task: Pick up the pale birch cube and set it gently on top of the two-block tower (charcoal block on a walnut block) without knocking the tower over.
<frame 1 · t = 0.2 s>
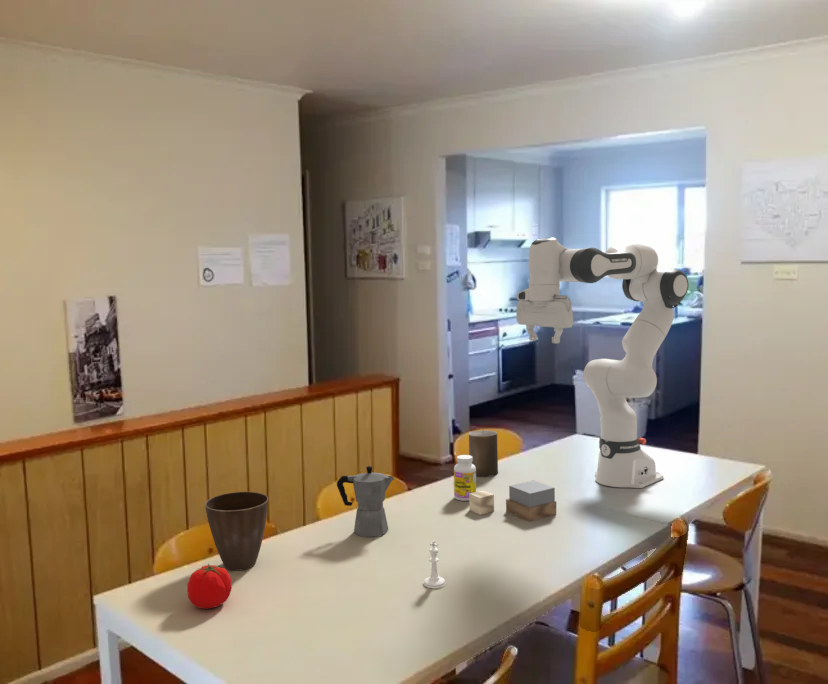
hand: (544, 341, 225), 48 cm above the table, fingers open, 8 cm apart
pillar candle: (483, 473, 261), on the table
birch block: (481, 510, 223), on the table
coffeepot: (367, 532, 208), on the table
tower top: (531, 500, 219), point 4 cm above the table, touching tower base
tomato: (210, 605, 167), on the table
chess piece: (434, 584, 174), on the table
supplement bottle: (465, 498, 235), on the table
tower base: (531, 514, 220), on the table, touching tower top
plant pot: (240, 565, 188), on the table
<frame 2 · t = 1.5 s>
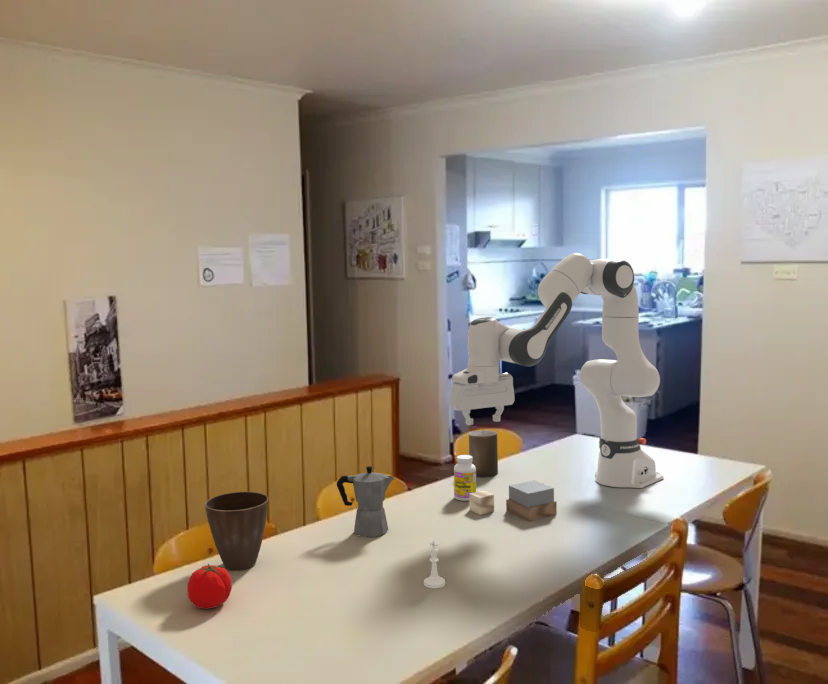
hand: (483, 423, 220), 26 cm above the table, fingers open, 8 cm apart
nothing on the table moved.
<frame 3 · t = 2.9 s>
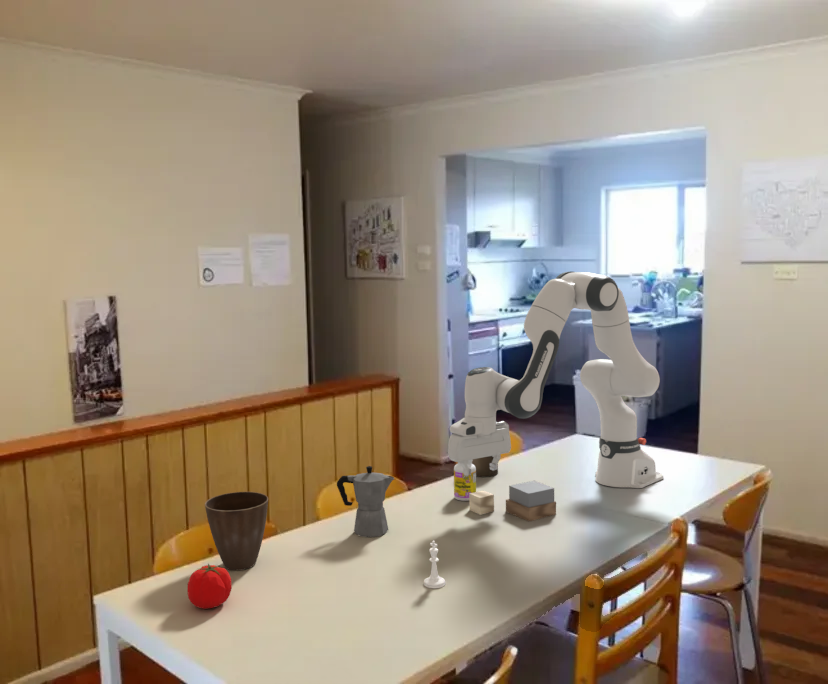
hand: (480, 472, 221), 11 cm above the table, fingers open, 8 cm apart
tower top: (531, 500, 220), point 4 cm above the table
tower base: (530, 514, 220), on the table
everything else where it was.
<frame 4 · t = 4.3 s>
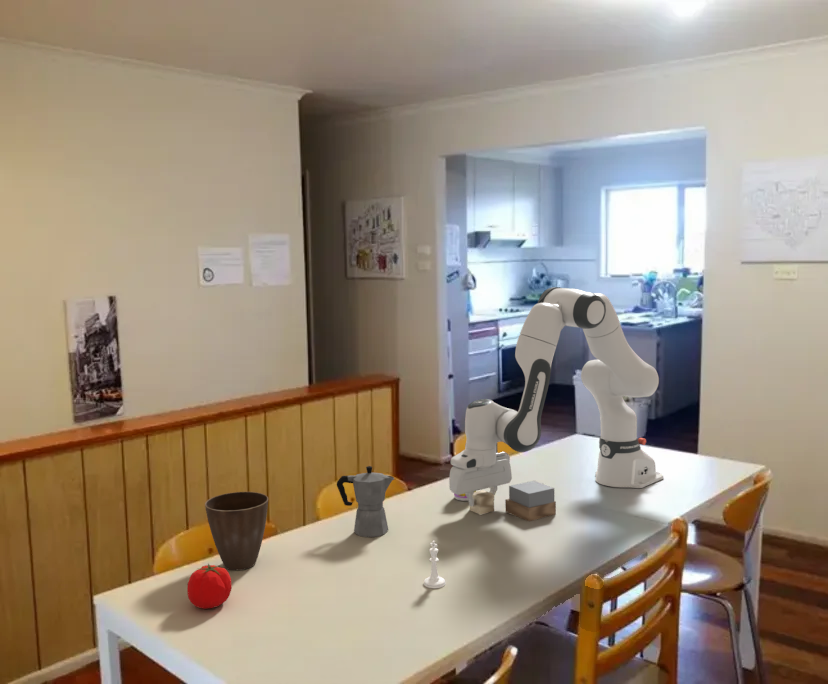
hand: (481, 503, 223), 2 cm above the table, fingers closed on birch block, 5 cm apart
birch block: (481, 510, 223), on the table, touching gripper
tower top: (531, 500, 219), point 4 cm above the table, touching tower base
tower base: (530, 514, 220), on the table, touching tower top
everything else where it was.
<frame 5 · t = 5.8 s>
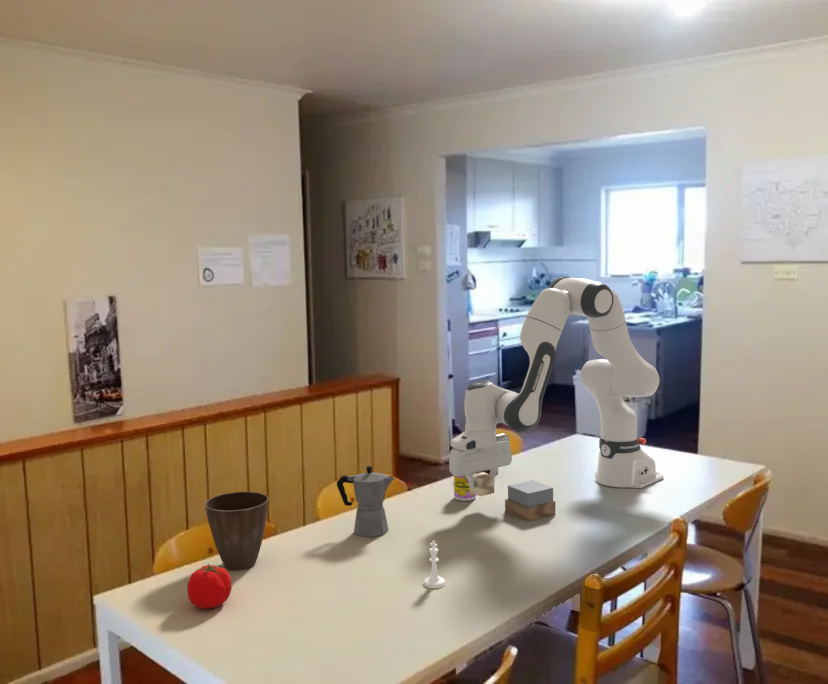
hand: (481, 485, 222), 7 cm above the table, fingers closed on birch block, 5 cm apart
birch block: (482, 492, 223), point 5 cm above the table, touching gripper
everything else where it was.
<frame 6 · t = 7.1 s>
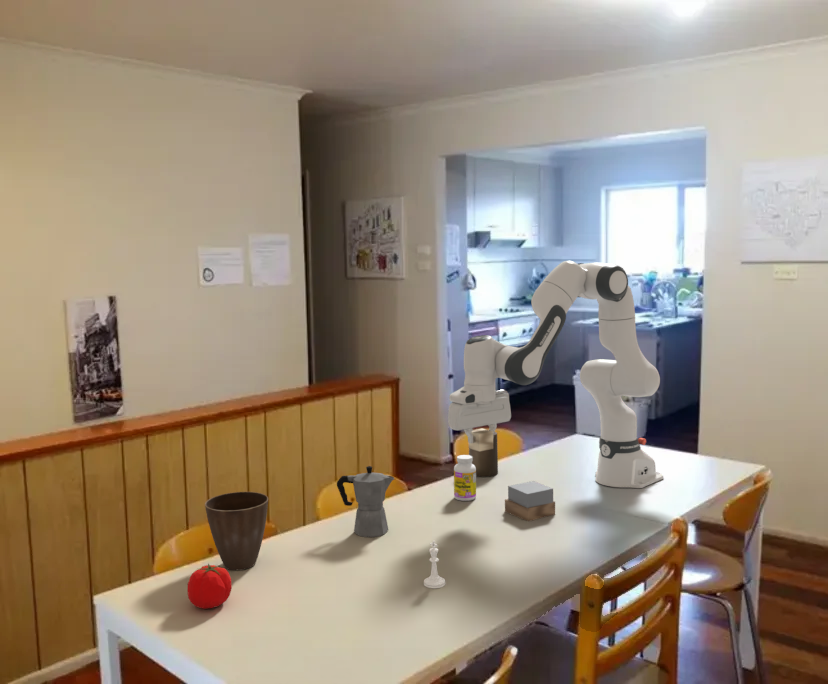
hand: (480, 440, 221), 20 cm above the table, fingers closed on birch block, 5 cm apart
birch block: (480, 448, 221), point 18 cm above the table, touching gripper
everything else where it was.
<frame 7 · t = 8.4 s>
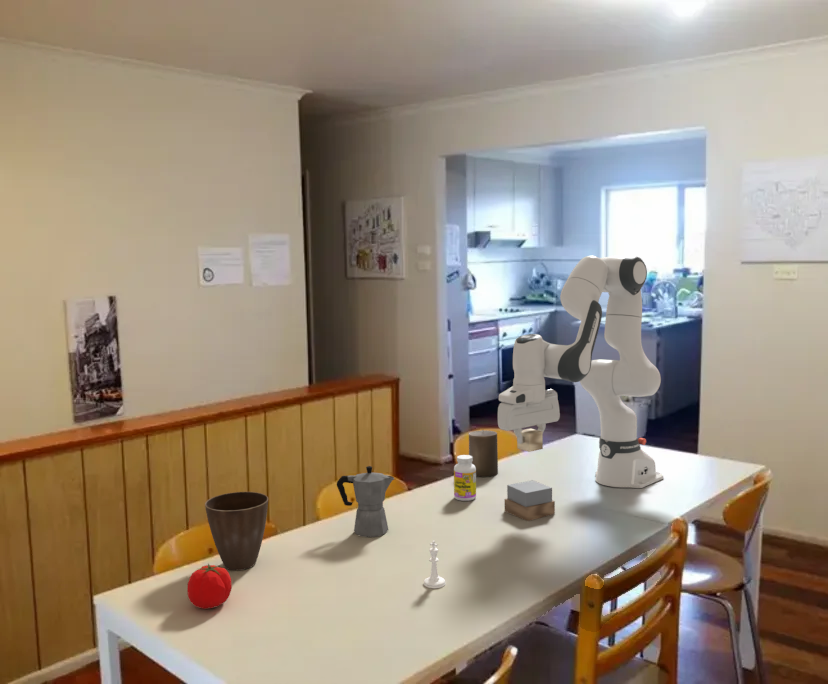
hand: (529, 441, 218), 21 cm above the table, fingers closed on birch block, 5 cm apart
birch block: (530, 448, 218), point 19 cm above the table, touching gripper
everything else where it was.
when the fingers open (11 cm above the table, at t = 11.1 s): birch block drops 1 cm, point 8 cm above the table.
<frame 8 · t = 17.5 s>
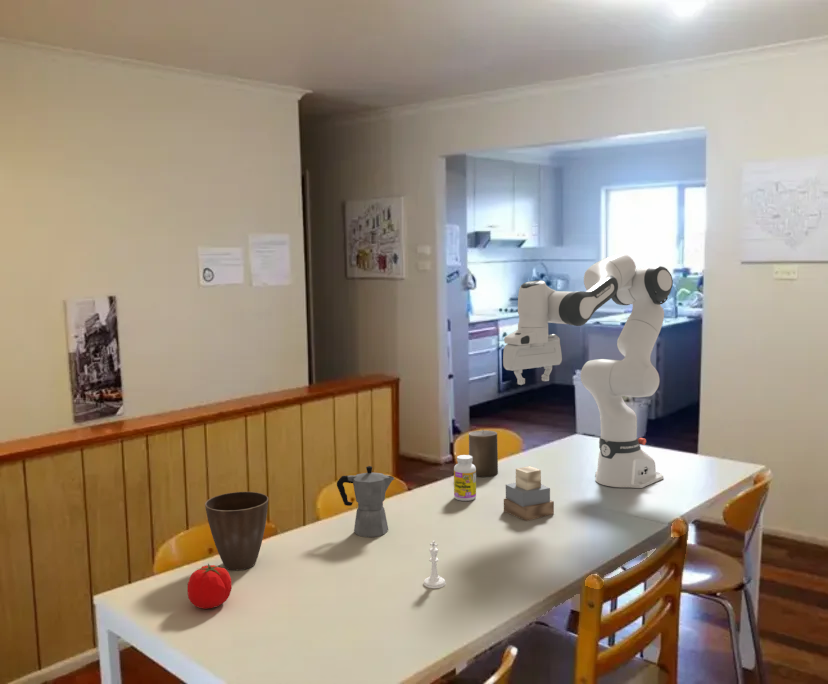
hand: (533, 382, 230), 35 cm above the table, fingers open, 8 cm apart
birch block: (528, 486, 219), point 8 cm above the table
tower top: (527, 499, 220), point 4 cm above the table
tower base: (528, 513, 220), on the table
everything else where it was.
at the end: birch block 0.4 cm off-centre on the tower top, point 4.0 cm above the tower top's base; birch block tilted 0°; tower top 0.2 cm off-centre on the tower base, point 4.0 cm above the tower base's base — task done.
